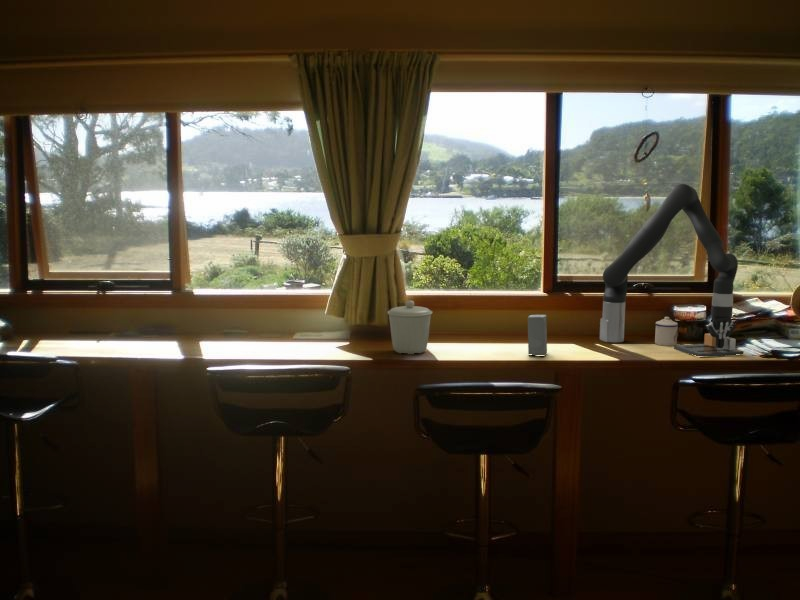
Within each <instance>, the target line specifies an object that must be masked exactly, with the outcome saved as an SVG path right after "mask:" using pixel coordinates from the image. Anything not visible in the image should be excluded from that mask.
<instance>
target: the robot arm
mask: <svg viewBox="0 0 800 600" xmlns="http://www.w3.org/2000/svg"><path fill="white" fill-rule="evenodd" d="M681 211H683V212H684V213H685V215H687V217H688V219H689V220H690V222H691V224H692V226H693V228H694V232H695V234H696V236H697V238H698V240H699V241H700V243H701V245H702V246H703V248H704V249H705V251H706V255H707V258H708V260H709V263H710V266H711V267H712V268H713V270H715V271H716V272H718V276H717V277H716V278H715V279H714V280H713V288H712V289H713V290H712V291H713V293H712V298H711V312H710V314H711V319H710V322H709V323H708V324H705V329H706V330H707V332H708V333H710V334H711V336H712V337H715V338H716V347H717V348H723V346H724V339H725V338H726V337H730V336H731V335H732V334H733V332H734V331H735V329H736V328H737V326H738V325H737V324H736V323H734V322H733V320H732V316H733V309H734V294H733V293H734V282H735V279H736V276H737V271H738V266H739V262H738V261H739V260H738V258H737V257H736V255H735V254H733V253H726V252H725V251H724V250H725V249H724V248H723V247H724V245H725V244H724V241H723V239H722V238H721V236H720V234H719V232H718V231H717V230H716V228H715V226H714V225H713V223H712V222H711V220H710V218H709V217H708V215H707V213H706V212H705V209H704V207H703V205H702V202H701V200H700V196H699V194H698V192H697V190H696V189H695V188H694V187H692V186H690V185H689V184H686V183H681V184H677V185H676V186H674V187H673V188H672V189H671V190H670V192H668V194H667V196H666V198H665V199H664V200H663V202H662V204H661V205H660V206H659V207H658V208H657V210H655V212H654V213H653V214H652V215H651V216H650V218H648V220H646V222H645V223H643V225H642V226H641V228H639V229H638V231H637V232H636V234H635V235H634V236H633V237H632V238H631V240H630V241H629V243H627V245H626V247H624V250H623V251H622V252H621V254H620V255H619V256H617V258H616V259H615V260H613V262H611V263H610V264H609V265H608V266H607V267H606V268H605V269H604V271H603V273H602V280H603V282H604V284H605V286H604V293H603V297H602V317H600V319H599V320H600V322H599V325H600V326H599V340H600V341H602V342H605V343H623V342H624V341H625V339H624V338H625V319H626V317H625V316H626V315H625V314H626V298H627V294H628V280H629V279H628V277H629V273H630V272H631V270H632V269H633V268H634V266H635V265H637V264H638V262H640V261H641V260H642V259H644V258H645V257H646V256H647V255H648V254H650V252H651V251H652V250H653V249H655V247H656V246H657V245H658V243H660V242H661V240H662V239H663V237H664V236H665V235H666V232H667V230H668V228H669V226H670V224H671V222H672V220H673V219H674V218H675V217H676V216H677V215H678V214H679V213H680V212H681Z"/></svg>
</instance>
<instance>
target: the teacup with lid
mask: <svg viewBox="0 0 800 600" xmlns="http://www.w3.org/2000/svg"><path fill="white" fill-rule="evenodd" d="M678 327H679V323H678V322H676V321H673V320H672V319H671V318H670V317H669V316H664V318H663V319H662V318H661V320H658V321H656V322H655V332H654V333H655V334H654V335H655V336H654V343H655V345H658V346H663V347H664V346H665V347H674V345H677V341H678V340H677V339H678Z"/></svg>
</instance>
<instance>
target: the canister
mask: <svg viewBox="0 0 800 600" xmlns="http://www.w3.org/2000/svg"><path fill="white" fill-rule="evenodd" d="M386 313H387V315H388V316H389V318H388V319H389V325H390V334H391V335H390V336H391V344H392V348H393V350H394V351H395V352H396V353H397V354H401V353H408V354H407V355H415V354H414V353H419V354H422V353H424V352H426V350H427V348H428V347H427V346H428V342H429V335H430V326H431V317H432V314H433V310H431V309H429V308H428V307H424V306H419V305H418V306H417V305H415V302H414V300H407V301H405V305H403V306H395V307H392V308H390V309H389V310H387V311H386Z"/></svg>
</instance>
